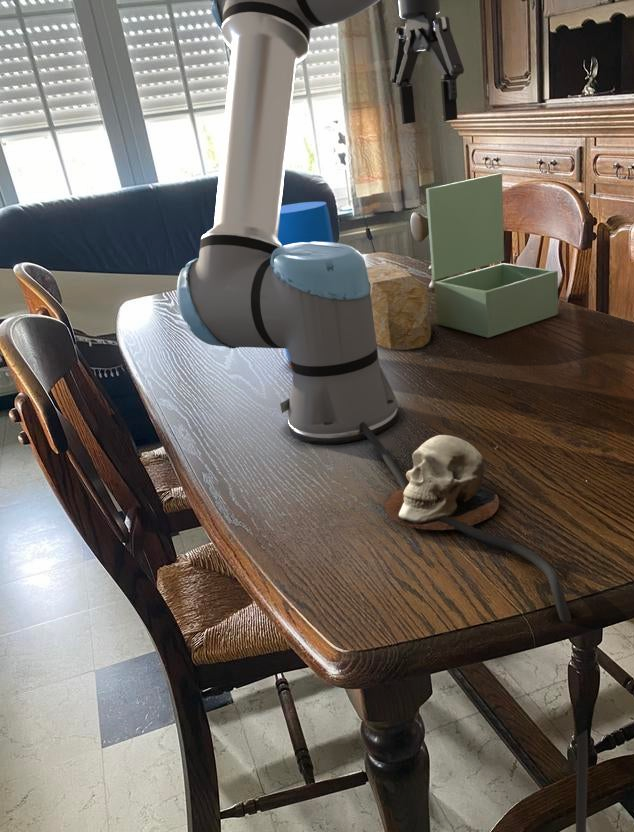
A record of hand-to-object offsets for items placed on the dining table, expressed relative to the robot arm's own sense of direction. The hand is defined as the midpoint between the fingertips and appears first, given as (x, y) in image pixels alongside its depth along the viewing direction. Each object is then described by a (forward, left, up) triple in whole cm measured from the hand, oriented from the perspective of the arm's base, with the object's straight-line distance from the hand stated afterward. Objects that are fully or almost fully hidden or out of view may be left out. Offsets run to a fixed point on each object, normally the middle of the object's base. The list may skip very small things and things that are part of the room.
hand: (429, 121), depth 146 cm
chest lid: (-20, +8, -17) cm, 27 cm away
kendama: (+2, -1, -33) cm, 33 cm away
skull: (-76, +58, -33) cm, 101 cm away
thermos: (-20, +42, -33) cm, 57 cm away
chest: (-27, +8, -33) cm, 43 cm away
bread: (-11, +22, -33) cm, 41 cm away
